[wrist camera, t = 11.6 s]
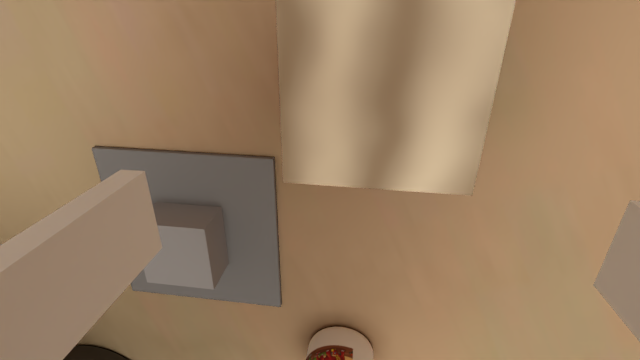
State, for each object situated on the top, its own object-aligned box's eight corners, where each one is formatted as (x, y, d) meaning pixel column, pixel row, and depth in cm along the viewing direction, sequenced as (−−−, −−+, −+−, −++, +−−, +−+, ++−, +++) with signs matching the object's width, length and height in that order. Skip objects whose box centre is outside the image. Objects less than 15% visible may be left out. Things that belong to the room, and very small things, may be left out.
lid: (289, 170, 25) (282, 182, 23) (283, -25, 20) (274, -28, 18) (465, 181, 24) (472, 195, 22) (508, -25, 19) (522, -29, 17)
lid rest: (135, 287, 43) (110, 316, 39) (95, 146, 35) (58, 164, 31) (281, 303, 40) (271, 336, 36) (274, 157, 33) (260, 177, 29)
